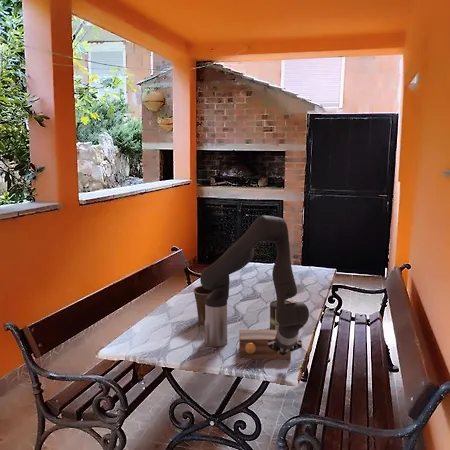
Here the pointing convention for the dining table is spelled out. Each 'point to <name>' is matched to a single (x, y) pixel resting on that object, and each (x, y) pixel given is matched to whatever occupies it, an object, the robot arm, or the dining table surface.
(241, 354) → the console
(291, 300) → the teacup and saucer
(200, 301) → the plant pot
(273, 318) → the coffee can
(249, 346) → the amber button
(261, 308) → the dining table surface
